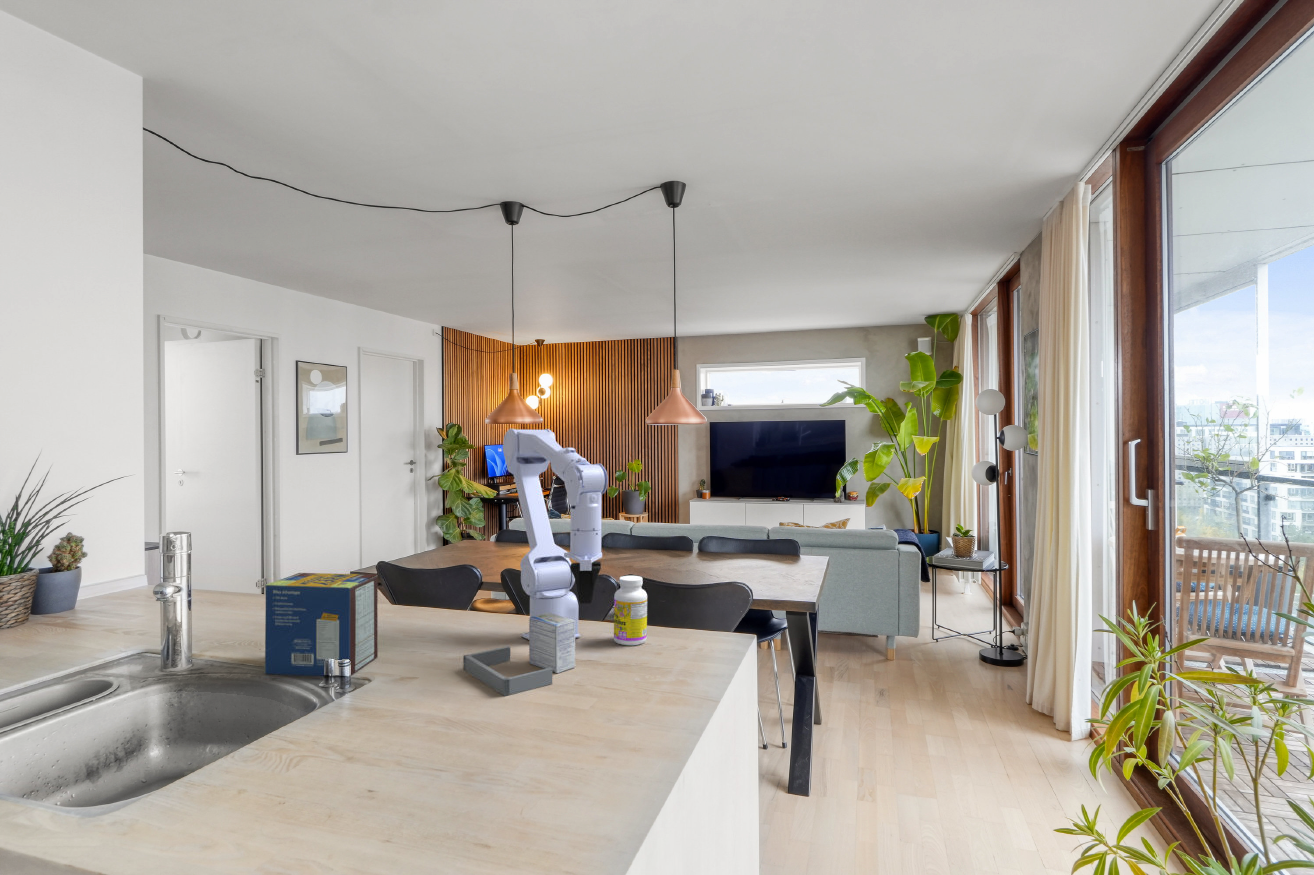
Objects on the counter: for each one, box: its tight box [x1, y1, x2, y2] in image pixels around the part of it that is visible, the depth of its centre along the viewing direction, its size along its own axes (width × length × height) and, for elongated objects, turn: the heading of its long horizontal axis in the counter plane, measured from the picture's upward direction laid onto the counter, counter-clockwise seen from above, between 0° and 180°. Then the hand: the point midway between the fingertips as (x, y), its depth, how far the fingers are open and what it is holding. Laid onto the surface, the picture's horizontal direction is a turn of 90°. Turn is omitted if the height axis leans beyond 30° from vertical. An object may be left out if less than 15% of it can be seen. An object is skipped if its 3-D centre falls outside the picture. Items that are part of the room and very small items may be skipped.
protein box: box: [264, 572, 379, 677], centre depth 123 cm, size 10×15×16 cm
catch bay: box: [462, 645, 553, 697], centre depth 119 cm, size 9×16×2 cm, turn 40°
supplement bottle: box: [613, 575, 648, 647], centre depth 139 cm, size 7×7×13 cm
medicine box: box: [528, 613, 576, 674], centre depth 124 cm, size 8×4×9 cm, turn 48°
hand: (585, 602), depth 129 cm, fingers closed
